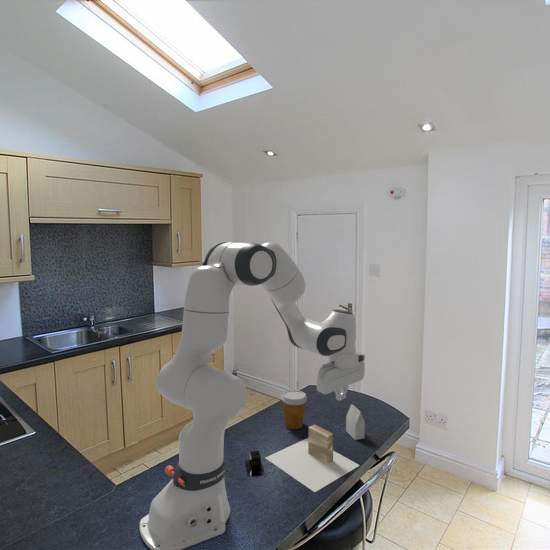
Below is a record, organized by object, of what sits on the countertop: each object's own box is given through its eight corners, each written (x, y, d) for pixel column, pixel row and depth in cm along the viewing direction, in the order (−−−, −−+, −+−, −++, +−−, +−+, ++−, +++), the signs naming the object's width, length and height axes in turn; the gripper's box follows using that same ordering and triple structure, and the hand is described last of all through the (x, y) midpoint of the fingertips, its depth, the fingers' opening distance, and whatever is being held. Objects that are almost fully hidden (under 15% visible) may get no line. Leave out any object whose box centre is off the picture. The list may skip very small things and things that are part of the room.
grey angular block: (354, 440, 141) (355, 413, 139) (345, 431, 147) (346, 404, 146) (364, 438, 142) (365, 411, 141) (354, 429, 148) (355, 403, 147)
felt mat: (314, 492, 113) (314, 492, 113) (264, 458, 129) (264, 457, 129) (359, 465, 126) (359, 465, 126) (309, 437, 142) (309, 437, 142)
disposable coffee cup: (311, 423, 152) (311, 393, 151) (298, 434, 144) (299, 402, 143) (289, 417, 158) (289, 387, 156) (276, 427, 150) (276, 396, 148)
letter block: (326, 464, 126) (327, 436, 125) (308, 453, 132) (308, 427, 131) (333, 460, 128) (333, 433, 127) (314, 450, 134) (315, 424, 133)
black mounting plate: (269, 479, 120) (270, 464, 119) (245, 481, 118) (245, 467, 118) (263, 455, 132) (263, 442, 131) (240, 458, 130) (240, 444, 130)
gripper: (327, 368, 123) (326, 411, 125) (368, 354, 136) (367, 393, 138) (312, 363, 128) (311, 404, 130) (353, 350, 141) (352, 388, 143)
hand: (340, 399), depth 134 cm, fingers closed
